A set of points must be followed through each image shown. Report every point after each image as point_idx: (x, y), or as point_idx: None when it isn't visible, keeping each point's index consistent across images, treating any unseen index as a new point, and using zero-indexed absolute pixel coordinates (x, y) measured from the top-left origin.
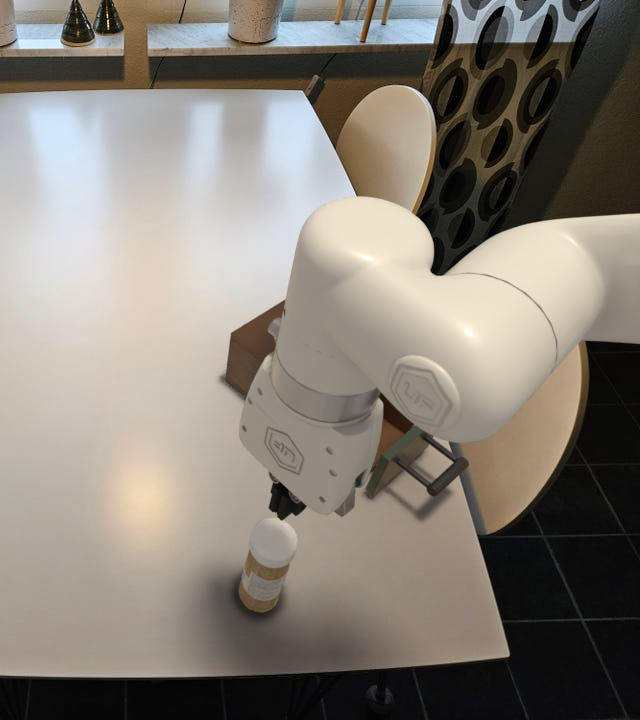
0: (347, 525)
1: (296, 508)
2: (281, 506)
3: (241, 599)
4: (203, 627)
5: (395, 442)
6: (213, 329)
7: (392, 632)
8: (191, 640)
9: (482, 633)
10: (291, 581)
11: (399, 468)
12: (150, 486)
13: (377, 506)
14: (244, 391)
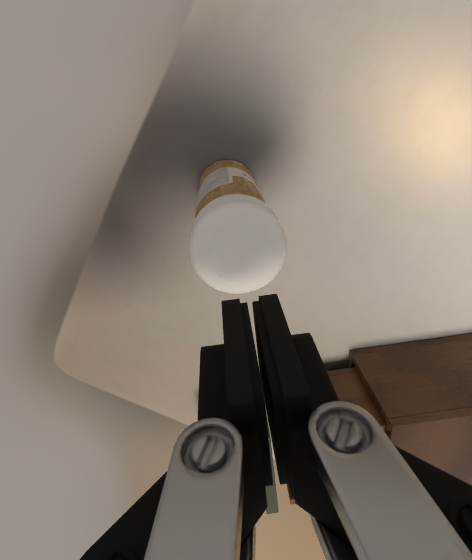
0: None
1: (203, 379)
2: (239, 344)
3: (230, 160)
4: (229, 83)
5: (271, 457)
6: None
7: (108, 294)
8: (222, 51)
9: (69, 365)
10: None
11: None
12: (453, 147)
13: None
14: (454, 341)
